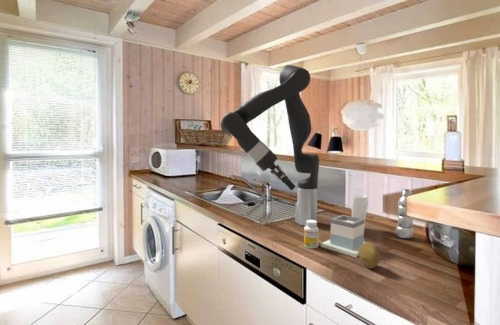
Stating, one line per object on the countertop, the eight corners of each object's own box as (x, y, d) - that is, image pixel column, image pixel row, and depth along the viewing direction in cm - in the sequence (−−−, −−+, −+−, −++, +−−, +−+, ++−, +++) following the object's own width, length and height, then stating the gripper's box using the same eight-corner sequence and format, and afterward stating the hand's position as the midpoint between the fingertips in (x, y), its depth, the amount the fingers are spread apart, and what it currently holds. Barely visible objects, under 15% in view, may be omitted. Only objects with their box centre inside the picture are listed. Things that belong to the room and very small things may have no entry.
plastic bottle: (391, 236, 129) (394, 189, 127) (403, 234, 132) (406, 188, 130) (405, 241, 123) (407, 192, 121) (416, 239, 126) (419, 191, 124)
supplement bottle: (308, 242, 121) (308, 218, 120) (320, 245, 117) (321, 220, 116) (301, 246, 117) (301, 221, 116) (314, 249, 113) (314, 224, 112)
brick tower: (320, 246, 116) (321, 219, 115) (338, 237, 126) (339, 212, 125) (356, 257, 107) (357, 227, 106) (372, 246, 117) (373, 219, 116)
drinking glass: (361, 232, 134) (362, 198, 133) (347, 228, 140) (348, 195, 138) (368, 228, 139) (370, 196, 138) (355, 225, 144) (356, 193, 143)
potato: (360, 260, 104) (361, 237, 104) (384, 266, 99) (385, 242, 99) (352, 266, 99) (353, 242, 98) (377, 274, 94) (378, 248, 93)
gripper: (271, 149, 107) (302, 182, 108) (267, 148, 121) (295, 177, 122) (255, 164, 107) (287, 197, 108) (253, 161, 121) (282, 190, 123)
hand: (291, 186), depth 115 cm, fingers open, 8 cm apart
